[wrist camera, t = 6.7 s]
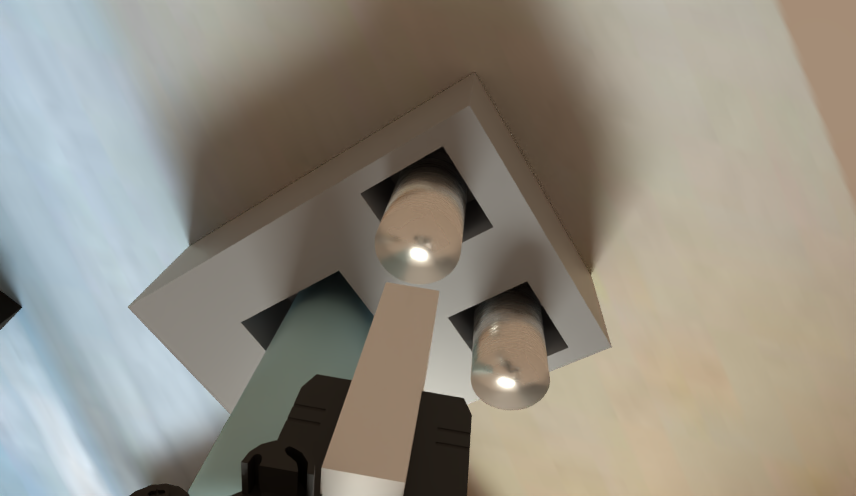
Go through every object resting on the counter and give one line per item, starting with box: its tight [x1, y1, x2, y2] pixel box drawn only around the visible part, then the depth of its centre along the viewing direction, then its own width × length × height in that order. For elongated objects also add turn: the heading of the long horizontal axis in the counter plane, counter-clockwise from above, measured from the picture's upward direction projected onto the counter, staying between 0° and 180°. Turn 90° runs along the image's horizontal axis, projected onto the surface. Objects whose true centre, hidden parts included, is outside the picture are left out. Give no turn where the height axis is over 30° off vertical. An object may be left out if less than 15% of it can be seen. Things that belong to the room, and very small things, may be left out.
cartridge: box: [188, 271, 374, 496], centre depth 24 cm, size 4×4×13 cm
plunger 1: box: [375, 150, 468, 284], centre depth 23 cm, size 3×3×6 cm
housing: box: [128, 72, 611, 414], centre depth 28 cm, size 12×18×6 cm, turn 122°
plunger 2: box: [471, 281, 550, 410], centre depth 25 cm, size 3×3×6 cm
